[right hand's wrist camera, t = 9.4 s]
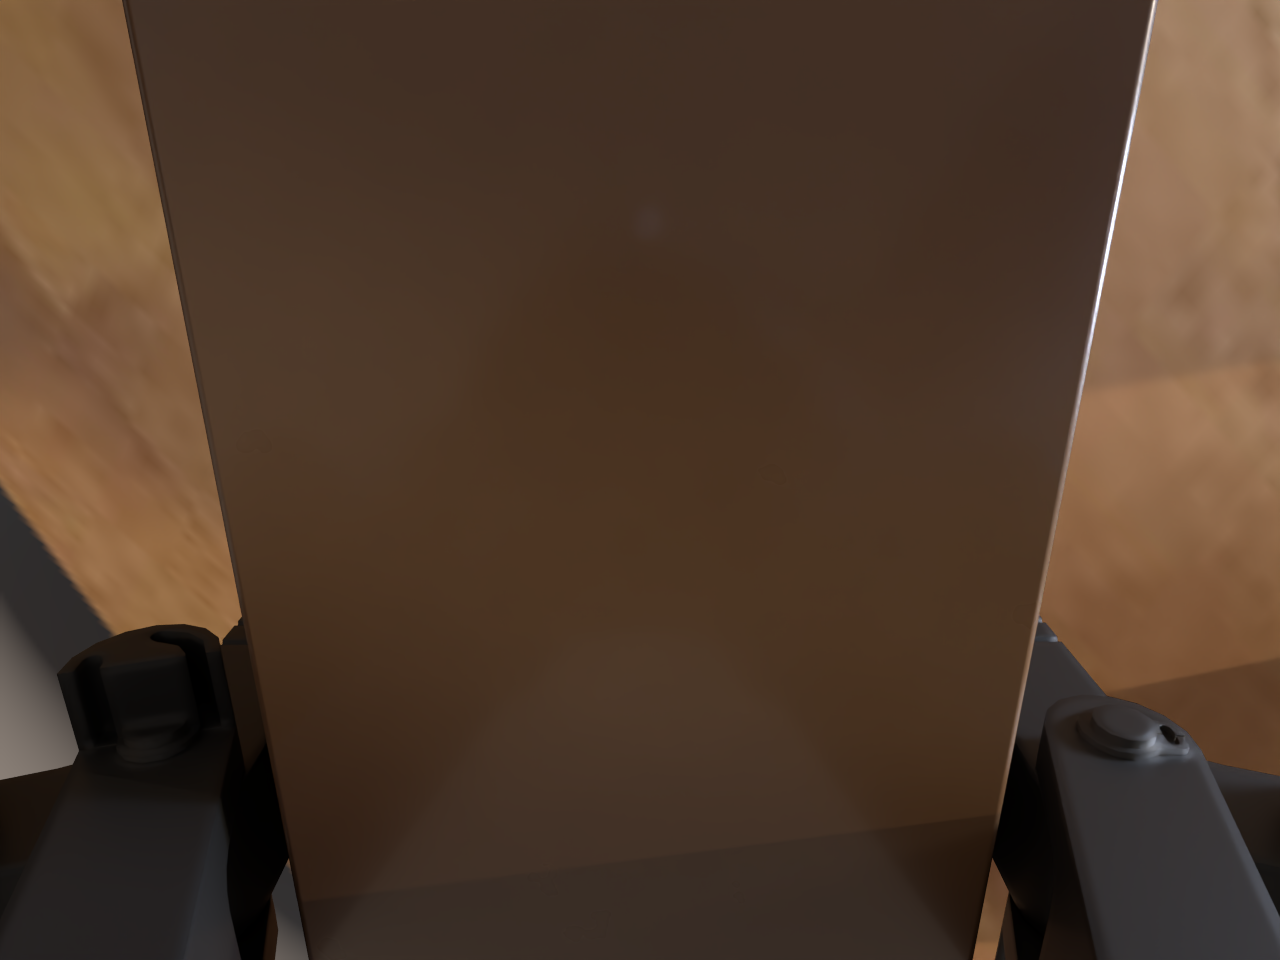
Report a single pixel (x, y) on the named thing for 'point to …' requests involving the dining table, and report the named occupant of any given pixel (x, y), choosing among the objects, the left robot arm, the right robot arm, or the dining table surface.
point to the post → (640, 444)
